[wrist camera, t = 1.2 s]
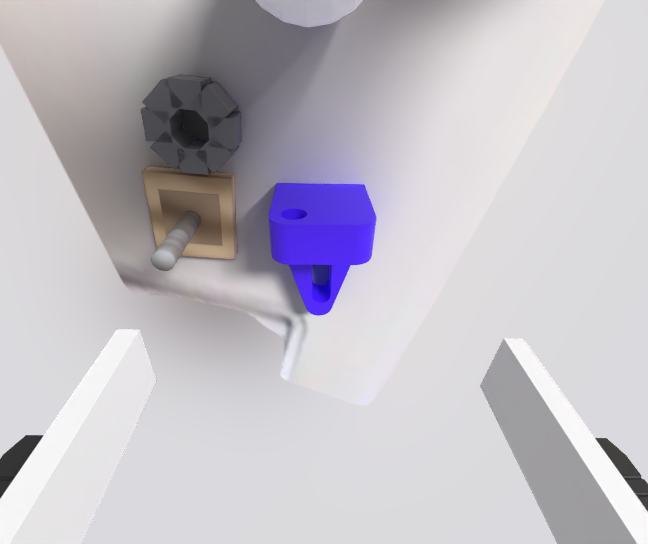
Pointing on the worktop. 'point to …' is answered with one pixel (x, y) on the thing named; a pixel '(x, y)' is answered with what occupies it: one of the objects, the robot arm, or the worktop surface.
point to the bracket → (321, 235)
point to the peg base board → (191, 215)
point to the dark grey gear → (170, 134)
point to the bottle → (309, 10)
